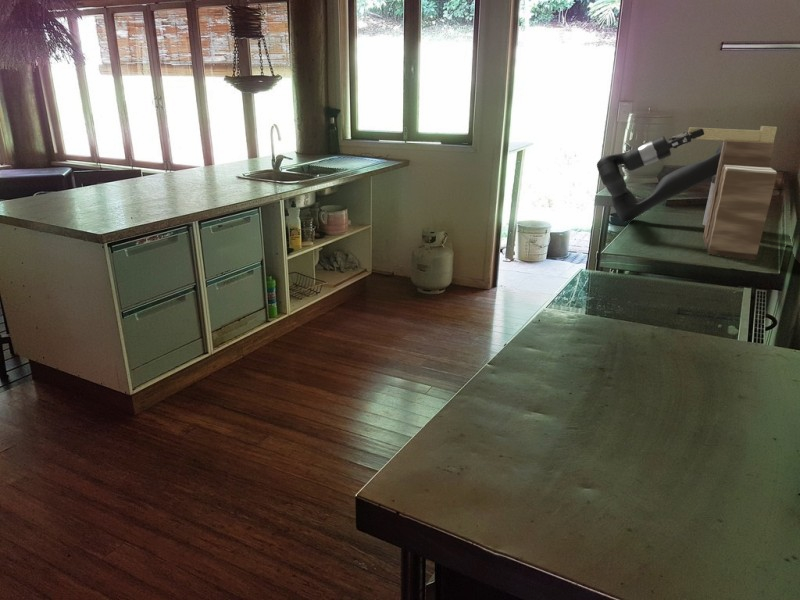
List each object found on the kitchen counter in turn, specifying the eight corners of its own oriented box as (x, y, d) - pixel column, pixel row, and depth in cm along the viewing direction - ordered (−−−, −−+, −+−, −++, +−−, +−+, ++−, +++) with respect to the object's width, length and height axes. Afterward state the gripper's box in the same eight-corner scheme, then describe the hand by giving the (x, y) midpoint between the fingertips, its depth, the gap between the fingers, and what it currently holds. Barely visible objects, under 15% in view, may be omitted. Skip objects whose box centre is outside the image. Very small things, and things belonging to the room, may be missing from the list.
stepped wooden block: (702, 237, 215) (723, 138, 203) (744, 242, 210) (769, 141, 198) (708, 254, 193) (732, 144, 180) (755, 260, 188) (783, 147, 175)
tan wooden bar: (687, 137, 204) (689, 123, 202) (770, 141, 195) (774, 126, 193) (687, 138, 200) (690, 123, 198) (773, 142, 191) (777, 127, 189)
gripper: (657, 158, 213) (703, 139, 206) (658, 162, 201) (708, 142, 193) (649, 140, 212) (696, 119, 205) (650, 142, 200) (700, 121, 192)
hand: (702, 130), depth 199 cm, fingers open, 8 cm apart
